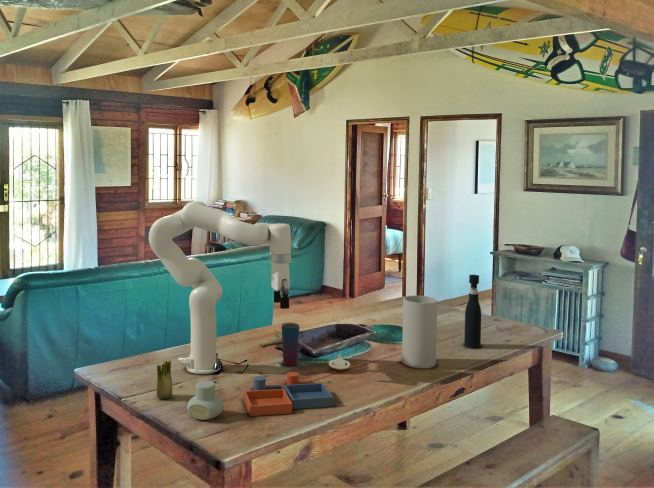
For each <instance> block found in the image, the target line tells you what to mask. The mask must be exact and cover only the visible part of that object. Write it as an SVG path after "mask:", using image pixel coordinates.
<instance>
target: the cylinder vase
mask: <svg viewBox="0 0 654 488" xmlns="http://www.w3.org/2000/svg"><path fill="white" fill-rule="evenodd" d="M437 328H438V299H437V298H435V297H430V296H427V295H406V296H404V297H403V298H402V336H401V337H402V339H401V340H402V341H401V342H402V343H401V345H402V346H401V362H402V364H404V365H405V366H407V367H410V368H413V369H420V370H427V369H431V368H434V367H435V366H436V364H437V363H436V362H437Z"/></svg>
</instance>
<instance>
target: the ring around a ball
mask: <svg viewBox="0 0 654 488" xmlns="http://www.w3.org/2000/svg"><path fill="white" fill-rule="evenodd" d="M328 366H329V367H330V368H332V369H334V370H338V371H342V370H346V369H349V368H350V367H351V363H350V361H348V360H345V359H343V356H342V354H341V353H339V354H338V356H336V359H332V360H330V361H328Z"/></svg>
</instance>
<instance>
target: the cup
mask: <svg viewBox="0 0 654 488" xmlns="http://www.w3.org/2000/svg"><path fill="white" fill-rule="evenodd" d="M281 333H282V362H283V366H286V367H295V366H297V363H298V350H299V336H300V324H299V323H296V322H284V323H281Z"/></svg>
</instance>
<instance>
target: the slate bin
mask: <svg viewBox="0 0 654 488" xmlns="http://www.w3.org/2000/svg"><path fill="white" fill-rule="evenodd" d="M283 389H284V390H285V392H286V394H287V395H288V397H289V399H290V401H291V402H292V410H300V409H312V408H314V409H315V408H329V407H334V396H333V395H332V393H331V392H330V391H329V389H328V388H327V387H326V385H325V384H324V383H323V382H313V384H296V385H287V384H284V385H283Z"/></svg>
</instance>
